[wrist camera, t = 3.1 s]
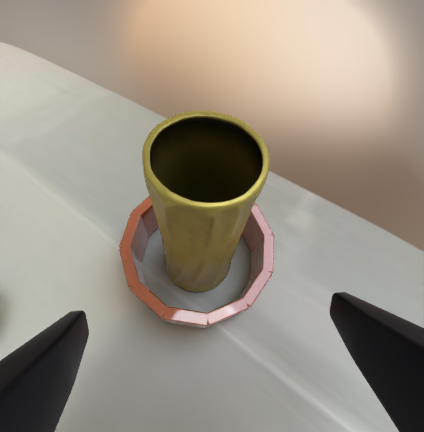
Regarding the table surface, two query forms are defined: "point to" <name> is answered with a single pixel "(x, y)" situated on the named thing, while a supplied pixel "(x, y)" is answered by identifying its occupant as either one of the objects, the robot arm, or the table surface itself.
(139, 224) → the terracotta ring
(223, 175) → the vase
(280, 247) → the table surface
